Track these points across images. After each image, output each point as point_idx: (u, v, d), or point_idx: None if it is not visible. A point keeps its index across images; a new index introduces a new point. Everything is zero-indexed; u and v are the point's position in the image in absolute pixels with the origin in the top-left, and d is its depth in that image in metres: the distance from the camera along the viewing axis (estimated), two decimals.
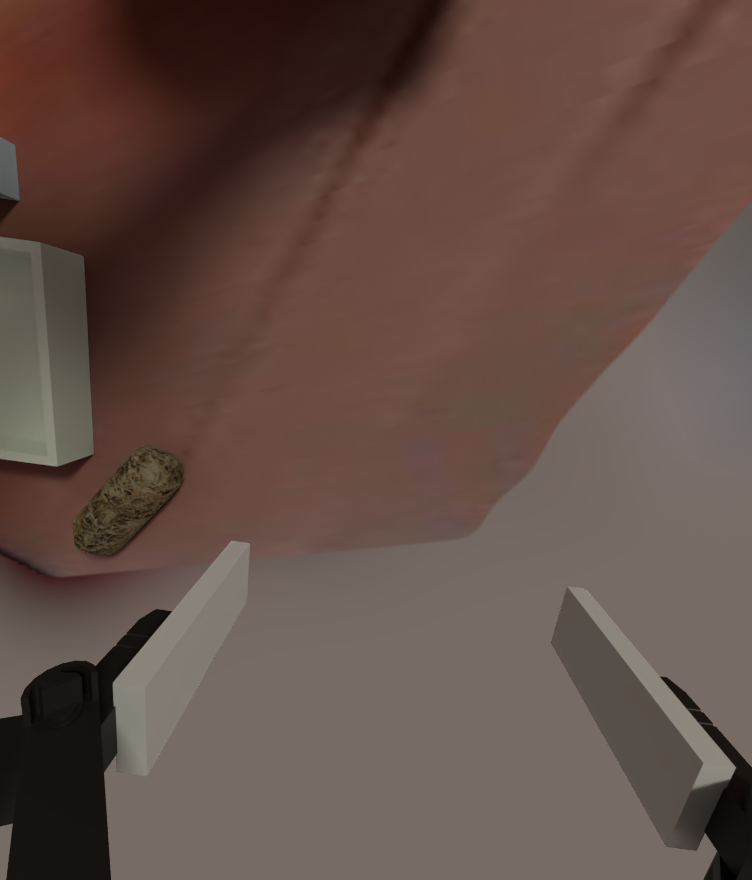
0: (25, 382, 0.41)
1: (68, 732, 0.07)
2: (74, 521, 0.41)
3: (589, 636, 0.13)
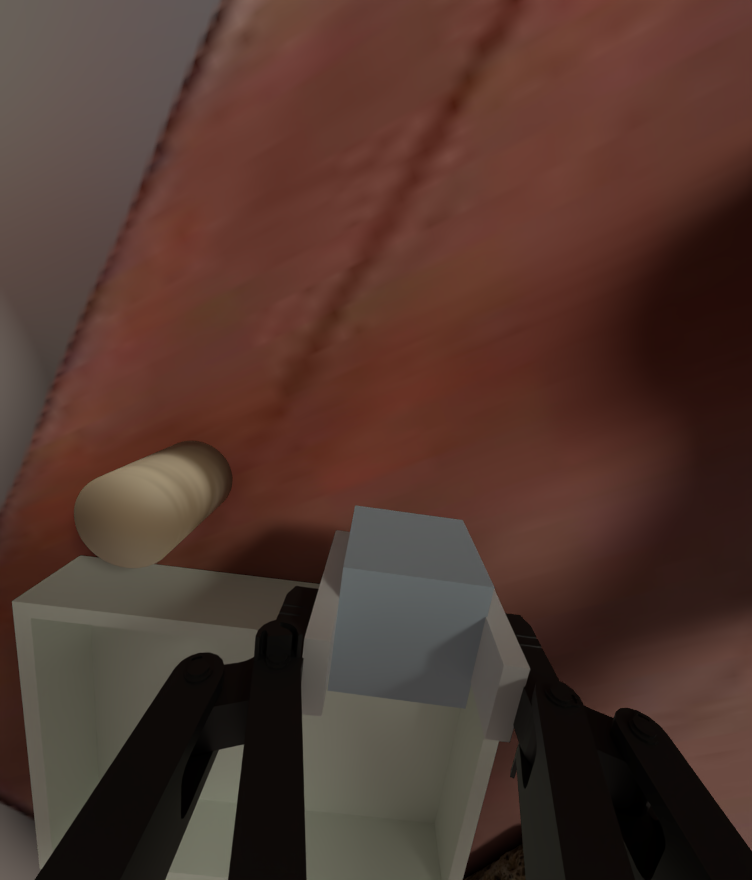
0: (374, 754, 0.29)
1: (280, 676, 0.09)
2: None
3: None
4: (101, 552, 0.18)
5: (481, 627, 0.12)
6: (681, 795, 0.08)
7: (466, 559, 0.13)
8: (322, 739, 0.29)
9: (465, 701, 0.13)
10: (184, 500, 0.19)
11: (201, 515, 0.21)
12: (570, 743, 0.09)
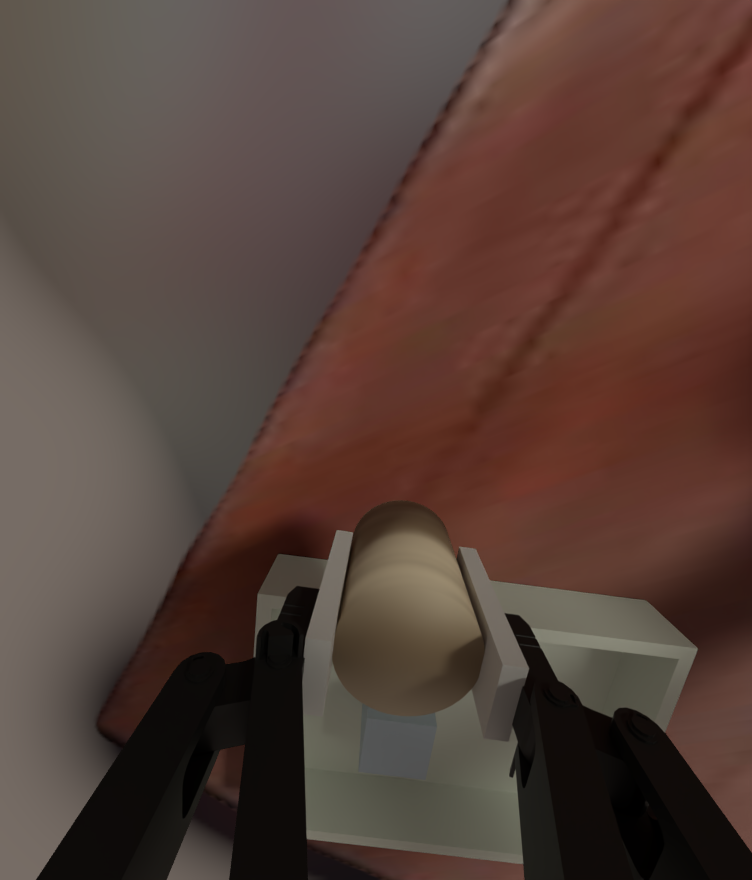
0: None
1: (281, 676, 0.09)
2: None
3: (465, 585, 0.15)
4: (363, 694, 0.12)
5: (404, 776, 0.27)
6: (680, 795, 0.08)
7: None
8: (479, 721, 0.32)
9: None
10: None
11: None
12: (569, 742, 0.09)
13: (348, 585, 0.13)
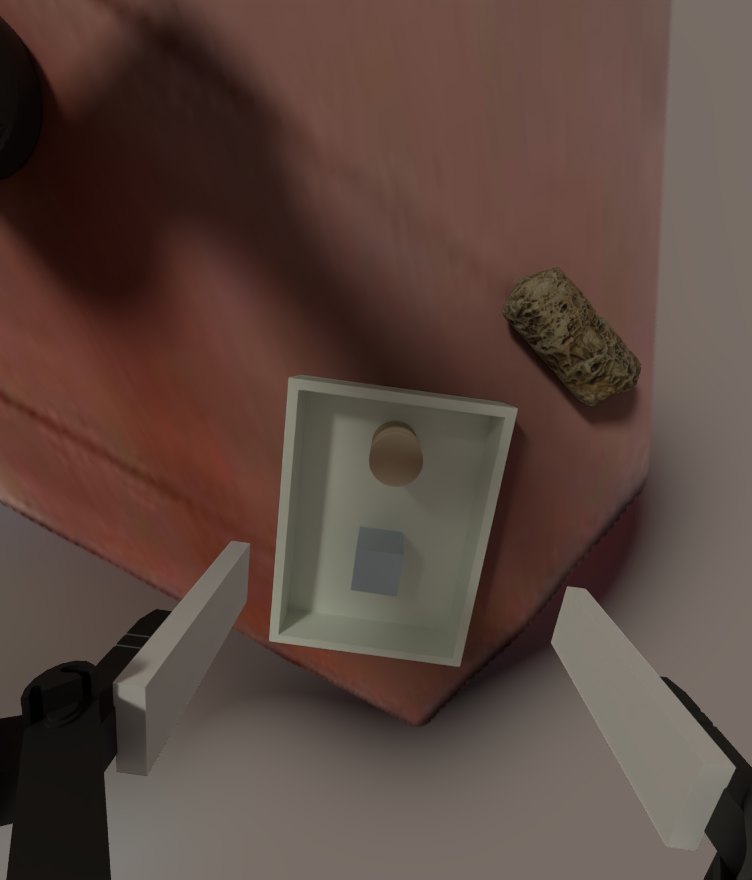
0: None
1: (67, 732, 0.07)
2: (592, 396, 0.35)
3: (589, 636, 0.13)
4: (380, 477, 0.34)
5: (400, 568, 0.38)
6: None
7: (397, 546, 0.39)
8: (407, 489, 0.42)
9: (396, 593, 0.39)
10: None
11: None
12: None
13: (373, 442, 0.35)
